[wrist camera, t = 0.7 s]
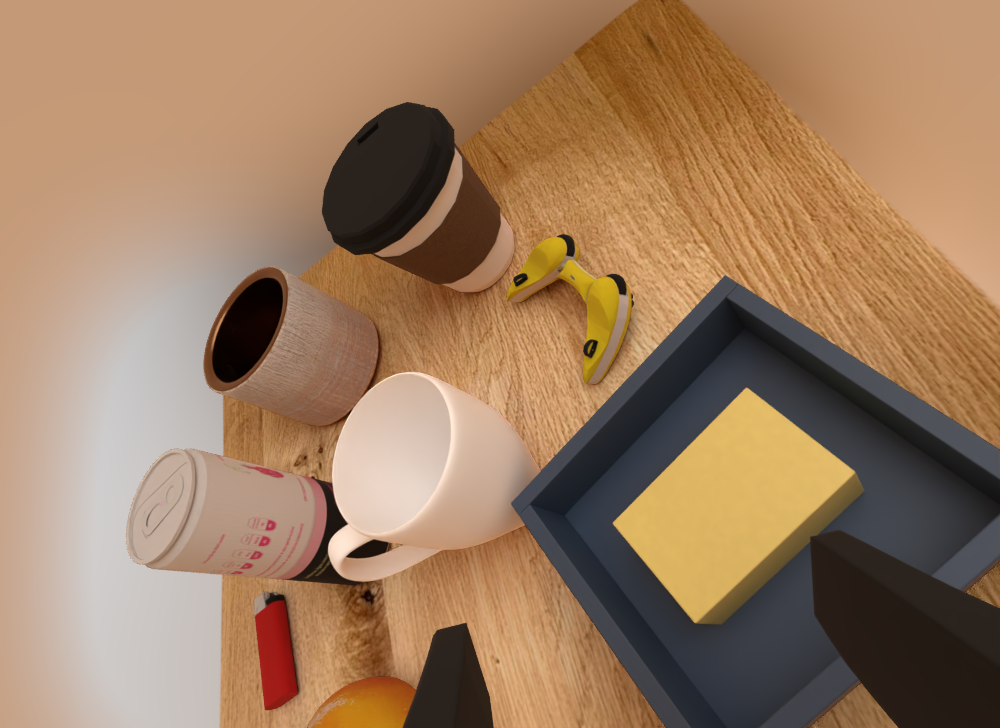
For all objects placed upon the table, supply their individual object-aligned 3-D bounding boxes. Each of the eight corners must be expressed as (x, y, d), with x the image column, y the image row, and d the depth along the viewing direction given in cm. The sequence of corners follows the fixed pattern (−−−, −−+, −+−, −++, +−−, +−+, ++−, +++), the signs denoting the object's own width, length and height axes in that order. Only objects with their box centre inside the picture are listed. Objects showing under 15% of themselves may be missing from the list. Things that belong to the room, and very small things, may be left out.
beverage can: (322, 533, 45) (120, 500, 34) (375, 475, 44) (184, 422, 33) (349, 605, 41) (128, 595, 30) (407, 543, 40) (201, 508, 29)
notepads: (865, 490, 23) (856, 472, 20) (721, 625, 24) (695, 624, 21) (765, 411, 26) (746, 386, 23) (642, 533, 27) (611, 522, 25)
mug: (522, 404, 38) (404, 339, 30) (602, 489, 33) (486, 439, 24) (412, 535, 40) (270, 508, 31) (471, 636, 34) (319, 638, 26)
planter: (284, 398, 55) (186, 362, 48) (342, 300, 55) (253, 250, 48) (337, 450, 48) (231, 418, 41) (403, 337, 48) (310, 285, 41)
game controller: (667, 300, 34) (629, 292, 32) (614, 385, 37) (576, 384, 34) (571, 226, 40) (534, 216, 38) (532, 304, 43) (495, 298, 41)
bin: (1039, 527, 22) (1072, 494, 17) (764, 766, 24) (717, 802, 19) (760, 335, 31) (725, 274, 26) (576, 523, 33) (509, 503, 28)
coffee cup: (422, 248, 51) (312, 166, 42) (521, 174, 47) (423, 65, 38) (443, 346, 45) (320, 274, 36) (559, 270, 41) (453, 168, 32)
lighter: (260, 711, 41) (249, 602, 45) (276, 709, 41) (263, 602, 46) (286, 693, 40) (272, 584, 45) (301, 691, 41) (286, 585, 46)
